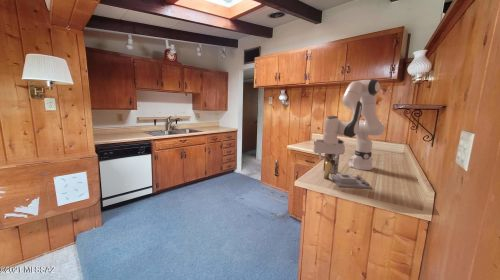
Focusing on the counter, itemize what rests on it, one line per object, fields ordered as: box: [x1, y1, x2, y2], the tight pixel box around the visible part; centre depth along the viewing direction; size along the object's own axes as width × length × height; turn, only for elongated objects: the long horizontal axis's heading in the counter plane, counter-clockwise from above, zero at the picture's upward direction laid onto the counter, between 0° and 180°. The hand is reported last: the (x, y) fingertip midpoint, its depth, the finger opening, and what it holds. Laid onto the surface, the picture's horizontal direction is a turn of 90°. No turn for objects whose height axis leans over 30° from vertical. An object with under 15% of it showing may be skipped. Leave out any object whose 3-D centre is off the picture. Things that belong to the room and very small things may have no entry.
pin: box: [323, 161, 330, 180], centre depth 145 cm, size 3×3×12 cm
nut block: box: [330, 172, 373, 190], centre depth 140 cm, size 18×20×4 cm
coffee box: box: [323, 153, 340, 175], centre depth 160 cm, size 9×6×16 cm
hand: (327, 159), depth 144 cm, fingers open, 8 cm apart
